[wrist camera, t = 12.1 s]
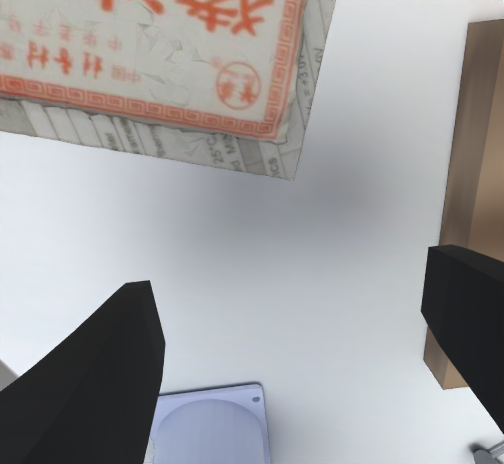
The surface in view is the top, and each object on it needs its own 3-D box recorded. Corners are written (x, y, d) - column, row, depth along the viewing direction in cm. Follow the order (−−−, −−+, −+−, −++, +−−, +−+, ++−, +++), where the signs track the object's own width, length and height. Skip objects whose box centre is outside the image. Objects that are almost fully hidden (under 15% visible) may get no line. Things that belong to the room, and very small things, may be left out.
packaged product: (-201, 127, 13) (-325, -304, 9) (-93, 109, 17) (-144, -185, 13) (309, 207, 15) (391, -99, 11) (290, 173, 20) (344, -56, 16)
